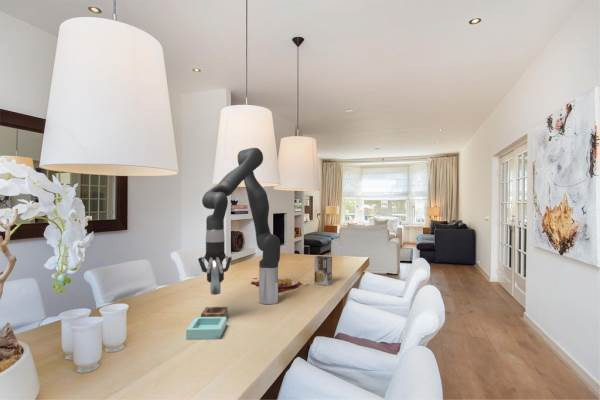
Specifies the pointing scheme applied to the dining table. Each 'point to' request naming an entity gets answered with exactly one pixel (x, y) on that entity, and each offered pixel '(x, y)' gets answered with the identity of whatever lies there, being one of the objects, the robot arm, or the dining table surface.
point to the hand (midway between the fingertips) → (215, 281)
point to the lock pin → (215, 278)
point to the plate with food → (284, 283)
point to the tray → (206, 328)
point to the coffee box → (323, 270)
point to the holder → (214, 312)
